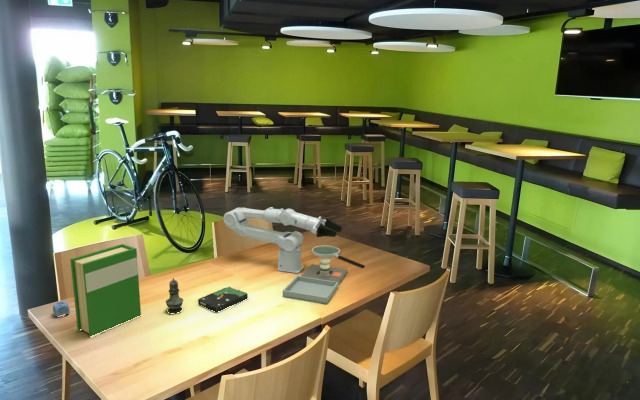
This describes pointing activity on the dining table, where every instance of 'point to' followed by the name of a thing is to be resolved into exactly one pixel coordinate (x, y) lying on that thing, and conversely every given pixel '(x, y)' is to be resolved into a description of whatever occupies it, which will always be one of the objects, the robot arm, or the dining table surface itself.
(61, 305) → the decorative dice
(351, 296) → the dining table surface
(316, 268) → the fuse holder
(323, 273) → the fuse
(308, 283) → the parts tray
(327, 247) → the magnifying glass
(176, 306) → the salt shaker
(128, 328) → the dining table surface
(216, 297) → the disk drive
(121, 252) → the hardback book
